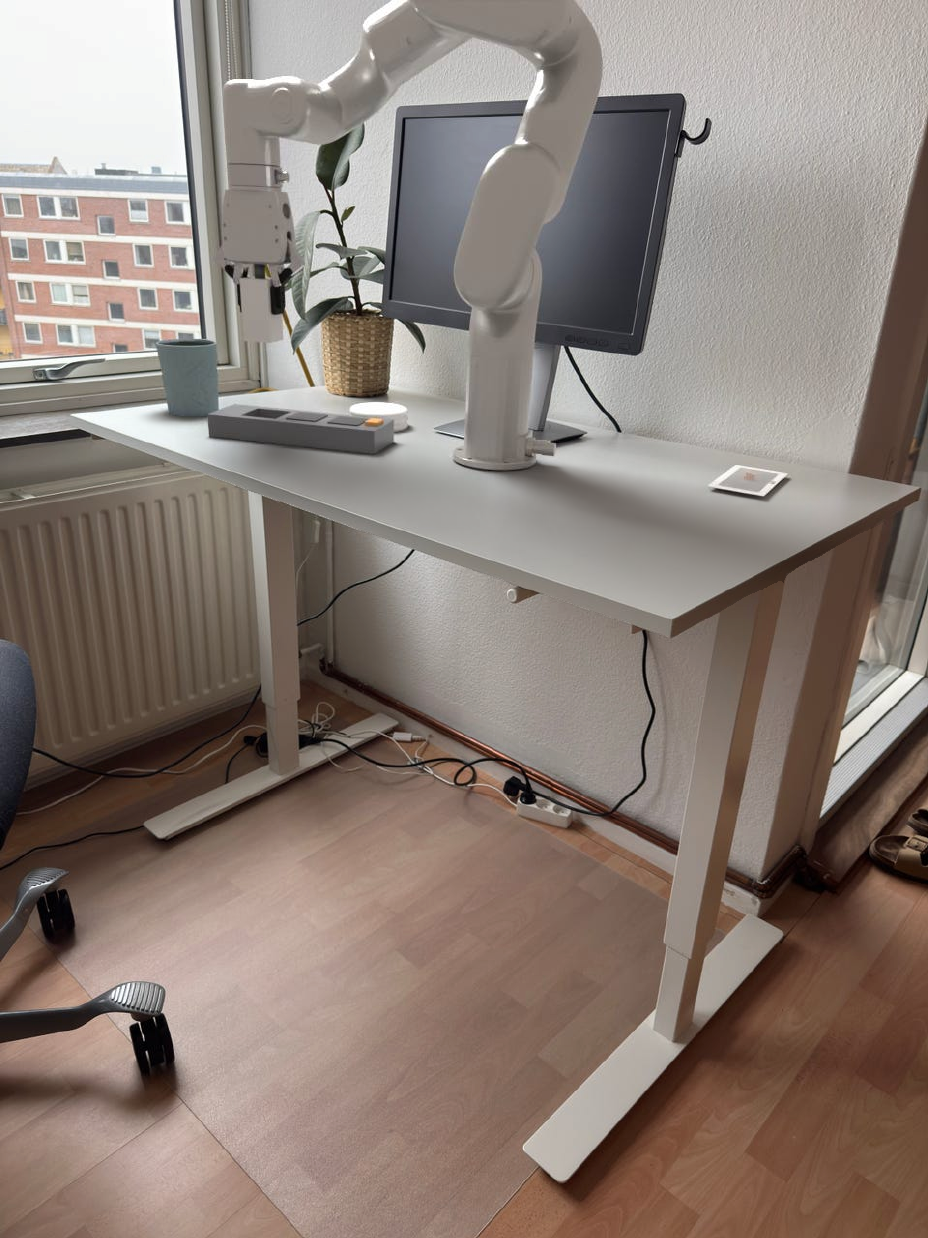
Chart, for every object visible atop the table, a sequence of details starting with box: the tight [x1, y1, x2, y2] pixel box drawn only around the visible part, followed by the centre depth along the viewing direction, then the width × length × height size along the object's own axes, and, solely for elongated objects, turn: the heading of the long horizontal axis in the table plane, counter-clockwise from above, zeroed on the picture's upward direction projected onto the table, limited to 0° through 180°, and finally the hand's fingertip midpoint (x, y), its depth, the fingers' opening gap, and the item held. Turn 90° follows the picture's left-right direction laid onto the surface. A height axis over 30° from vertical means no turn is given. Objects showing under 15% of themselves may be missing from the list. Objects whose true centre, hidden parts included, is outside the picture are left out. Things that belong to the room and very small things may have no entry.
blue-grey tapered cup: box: [155, 338, 220, 418], centre depth 155 cm, size 10×10×12 cm
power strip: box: [206, 403, 395, 455], centre depth 141 cm, size 28×9×4 cm, turn 75°
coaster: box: [349, 401, 409, 433], centre depth 152 cm, size 10×10×4 cm
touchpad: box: [707, 464, 789, 497], centre depth 128 cm, size 8×15×2 cm, turn 149°
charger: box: [240, 264, 284, 344], centre depth 135 cm, size 4×4×11 cm
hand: (262, 311), depth 135 cm, fingers closed on charger, 4 cm apart
